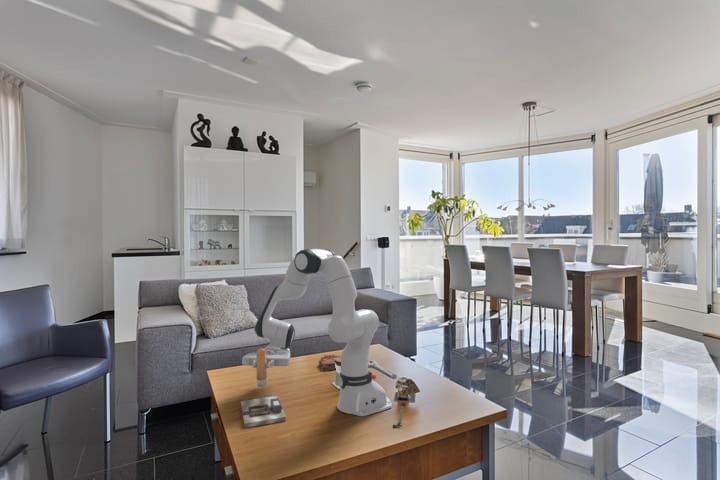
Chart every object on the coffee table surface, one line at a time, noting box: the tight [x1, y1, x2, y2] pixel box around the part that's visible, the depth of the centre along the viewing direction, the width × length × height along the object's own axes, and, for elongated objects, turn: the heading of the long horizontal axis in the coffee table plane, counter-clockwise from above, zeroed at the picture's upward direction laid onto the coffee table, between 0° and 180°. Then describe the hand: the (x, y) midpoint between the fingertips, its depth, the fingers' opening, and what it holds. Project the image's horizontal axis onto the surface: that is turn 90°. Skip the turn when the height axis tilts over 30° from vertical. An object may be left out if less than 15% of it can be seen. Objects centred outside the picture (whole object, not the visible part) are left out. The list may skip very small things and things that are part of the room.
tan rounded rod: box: [256, 347, 268, 388], centre depth 159 cm, size 4×4×15 cm
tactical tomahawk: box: [392, 401, 407, 429], centre depth 150 cm, size 21×7×1 cm, turn 166°
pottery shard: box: [318, 354, 341, 372], centre depth 207 cm, size 16×16×4 cm
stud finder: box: [271, 397, 282, 413], centre depth 153 cm, size 3×7×2 cm, turn 21°
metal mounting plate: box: [240, 395, 287, 429], centre depth 153 cm, size 15×20×2 cm
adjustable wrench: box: [368, 359, 398, 379], centre depth 199 cm, size 25×6×2 cm, turn 26°
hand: (260, 365), depth 158 cm, fingers closed on tan rounded rod, 4 cm apart
